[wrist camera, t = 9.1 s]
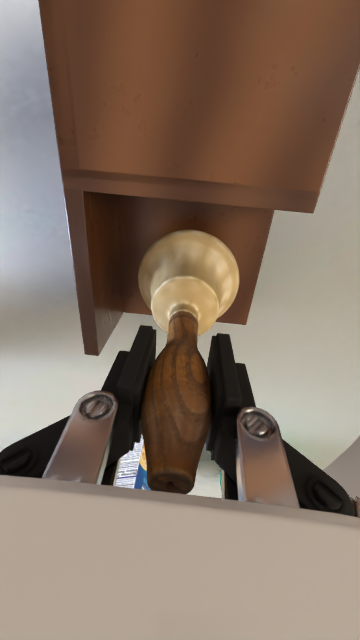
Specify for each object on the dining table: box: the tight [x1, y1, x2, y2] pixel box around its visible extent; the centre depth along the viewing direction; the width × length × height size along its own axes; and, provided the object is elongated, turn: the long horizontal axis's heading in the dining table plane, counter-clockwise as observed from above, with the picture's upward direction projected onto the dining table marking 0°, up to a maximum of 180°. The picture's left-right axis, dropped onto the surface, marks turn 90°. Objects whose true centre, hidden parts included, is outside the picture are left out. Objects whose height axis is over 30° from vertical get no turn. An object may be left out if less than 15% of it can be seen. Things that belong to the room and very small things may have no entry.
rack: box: [38, 0, 360, 356], centre depth 20 cm, size 15×26×13 cm, turn 175°
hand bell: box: [138, 230, 239, 494], centre depth 14 cm, size 8×8×16 cm
